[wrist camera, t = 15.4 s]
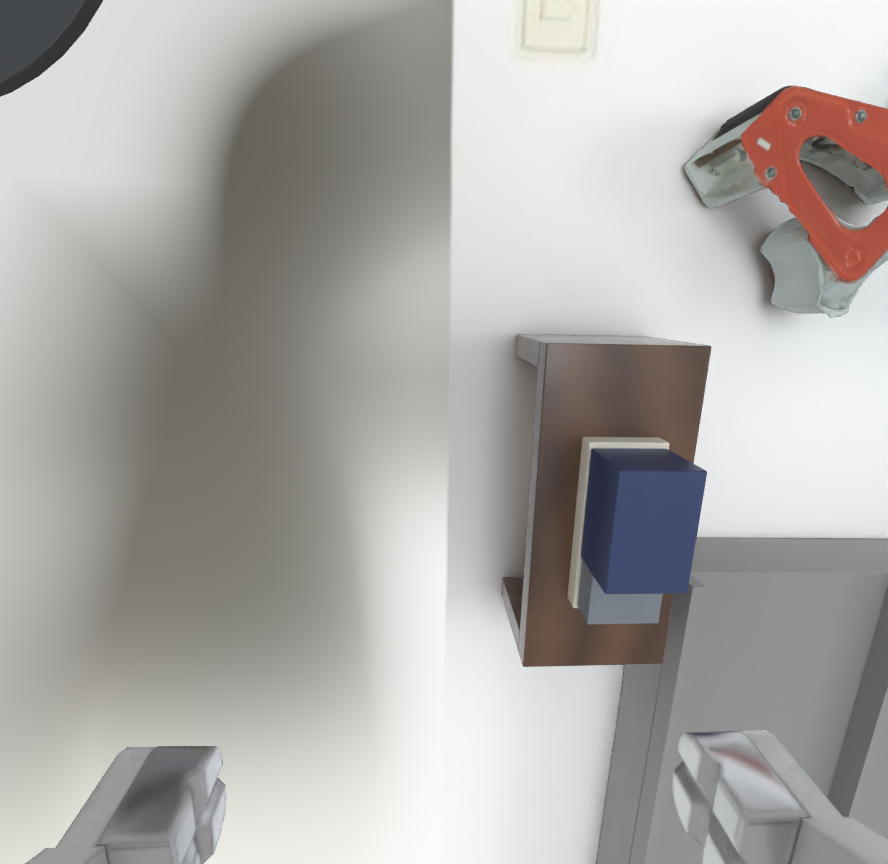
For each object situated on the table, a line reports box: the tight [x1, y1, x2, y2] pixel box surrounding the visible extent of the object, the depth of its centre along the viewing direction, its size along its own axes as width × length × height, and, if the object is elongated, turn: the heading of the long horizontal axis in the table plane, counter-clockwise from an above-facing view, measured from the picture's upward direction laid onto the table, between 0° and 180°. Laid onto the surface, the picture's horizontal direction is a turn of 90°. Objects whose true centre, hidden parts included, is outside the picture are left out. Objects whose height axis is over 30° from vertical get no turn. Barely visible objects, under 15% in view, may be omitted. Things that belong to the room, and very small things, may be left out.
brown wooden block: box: [502, 334, 711, 667], centre depth 33 cm, size 9×20×8 cm, turn 179°
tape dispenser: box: [685, 86, 888, 318], centre depth 30 cm, size 18×5×20 cm
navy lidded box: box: [567, 437, 707, 624], centre depth 27 cm, size 10×4×5 cm, turn 179°
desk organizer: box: [596, 538, 888, 864], centre depth 41 cm, size 32×40×7 cm
